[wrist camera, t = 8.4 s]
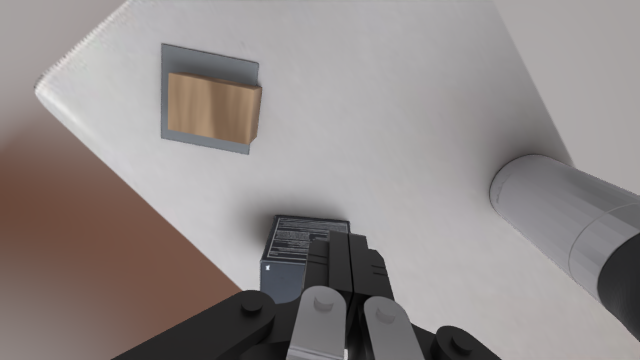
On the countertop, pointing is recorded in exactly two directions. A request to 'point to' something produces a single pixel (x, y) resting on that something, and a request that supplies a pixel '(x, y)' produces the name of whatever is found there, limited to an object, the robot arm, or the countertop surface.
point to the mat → (206, 66)
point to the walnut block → (213, 107)
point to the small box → (291, 253)
